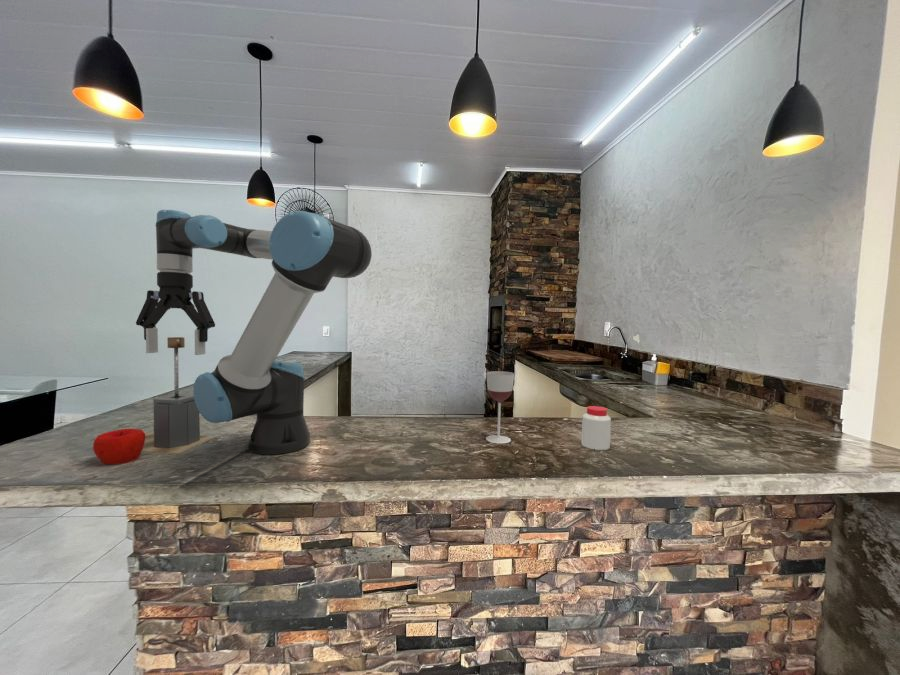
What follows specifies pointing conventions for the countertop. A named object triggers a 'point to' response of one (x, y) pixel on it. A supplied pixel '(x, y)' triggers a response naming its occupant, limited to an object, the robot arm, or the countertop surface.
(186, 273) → the robot arm
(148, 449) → the board
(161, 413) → the gray octagonal holder
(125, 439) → the apple
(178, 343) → the plunger
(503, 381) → the wineglass
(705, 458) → the countertop surface
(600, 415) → the pill bottle
